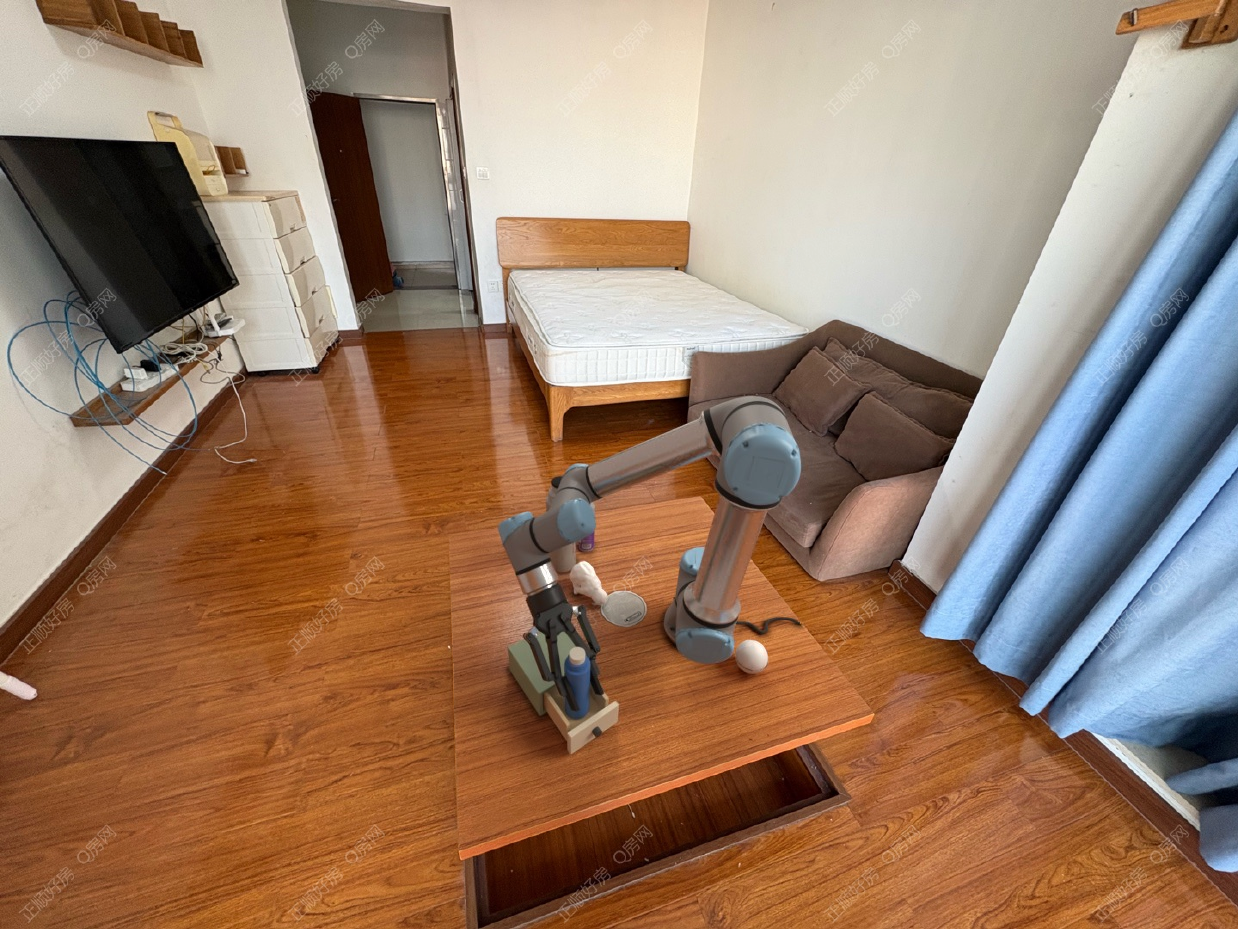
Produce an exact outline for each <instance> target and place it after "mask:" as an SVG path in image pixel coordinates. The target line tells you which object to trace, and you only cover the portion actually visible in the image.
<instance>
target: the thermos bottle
mask: <svg viewBox="0 0 1238 929" xmlns="http://www.w3.org/2000/svg"><path fill="white" fill-rule="evenodd" d="M562 476H563V475H558V476H554V477H553V478H551V481H550V486H551V487H550V488H549V489H548V493H547V495H546V497H545V513H546V512H547V511H549V509H550V506H551V504H552V502H553V499H554V497H555V495H556V492H557V490H558V487H559V484H560V481H561V478H562ZM549 556H550V559H551V561H552V564H553V566H554V568H555V571H556V573H566V572H571V570H572V568H573V567H574V566H575V565H576V564H577V542H575V543H572V544H570V545H567V546H565V547H562V548H560V549H557V550H555V551H553V552H550V553H549Z"/></svg>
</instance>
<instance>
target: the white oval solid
mask: <svg viewBox="0 0 1238 929" xmlns="http://www.w3.org/2000/svg"><path fill="white" fill-rule="evenodd" d="M734 651H735V653H734V659H735V662H736V664H737V666H738V667H739V669H740V670H741V671H743V672H745V673H747V674H750V675H755V674H759V673H761V672H763V671H764V670H765V671H767V672H768V673H770V674H772V675H773V673H772V672H770V671H769V670H767V669H766V667H767V666H768V664H769V654H768V652H767V650H766V647H765V646H764V645H763V644H762V643H760V642H759V641H757V640H755V639H745V640H743V641H741V642H740V643H739V644H738V645H737V647H736V649H735V650H734Z"/></svg>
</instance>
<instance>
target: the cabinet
mask: <svg viewBox="0 0 1238 929" xmlns="http://www.w3.org/2000/svg"><path fill="white" fill-rule="evenodd" d="M537 634H538V638H537V640H538V641H539V643H540V646H541V648H542V651H543V654H544V656H545V659H546V661H547V664H548V667H549V669H550V662H549V655H548V648H547V643H546V640H545V635H544V634H543V633H541V632H539V631H537ZM557 639H558V641H557V645H558V652H559V659H560V666H561V672H562V676H564V662H565V660H566V658H567V657H568V655H569V653H570V650H571V649H572V648H574V647H576V646H575V645H574V643H573V642H572V641H571V639H570V638H569V636H568V635H567V634H566V633H565V632H561V633H560V634H559V635H558V636H557ZM507 656H508V667H509V671H510V673H511V674H512V675H513V677H514V679H515V681H516V682H517V683H518V685H519V686H520V688H521V690H522V691H523V693H524V694H525V695H526V697H527V699H528V700H529V702H530V704H531V705H532V706H533V708H534V709H535V711H536V712H537V714H538V716H539V717H541V716H543V715H545V714H546V713H547V711H546V710H545V708H544V707H543V696H542V694H543V693H545V692H547V691H548V690H550V689H552V688H553V687H555V686H556V684H555V682H554V681H550V682H548V681H544V680H543V679H542V677H541V674H540V671H539V669H538V666H537V663H536V661H535V658H534V656H533V653H532V650H531V648H530V645H529V644H528V643H527V641H526V640H525V639H524V638H523V639H521V640H519V641H517V642H515V643H513V644H511V645H509V646H508V647H507ZM550 672H551V669H550Z"/></svg>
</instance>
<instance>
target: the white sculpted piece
mask: <svg viewBox="0 0 1238 929" xmlns="http://www.w3.org/2000/svg"><path fill="white" fill-rule="evenodd" d="M568 576H569V580H570V582H572V586H573V593H574V595H578V594H580V595H585V596H586V597H588V598H591V599H592V600H593V602H591V604H592V605H594V606H600V607H601V606H602V605H605V604H606V603H607V602H608V596H609V595H608V593H607V591H606V590H604V589H602V582H601V579H599V577H598V575H597V574H596V571H595V568H594V567H593V565H591V564H590V563H589V562H587V561H586V560H582V561H579V562H578V563H576V564H575V566H574V567H573V568H572V569H571V570H570V573H569V574H568Z"/></svg>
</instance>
